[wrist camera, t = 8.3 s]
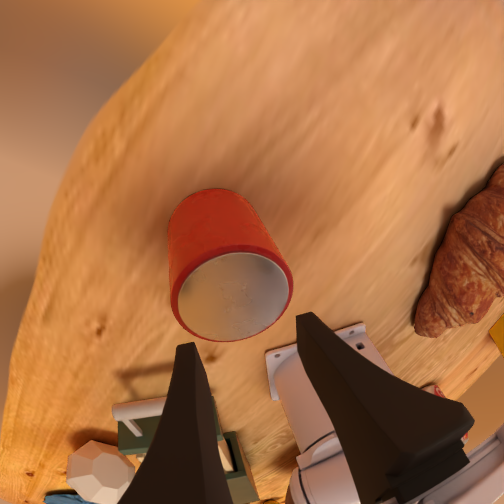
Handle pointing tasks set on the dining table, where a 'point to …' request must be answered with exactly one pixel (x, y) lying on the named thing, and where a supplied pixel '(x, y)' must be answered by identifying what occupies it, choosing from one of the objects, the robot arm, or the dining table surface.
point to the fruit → (271, 502)
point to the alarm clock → (498, 334)
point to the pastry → (467, 264)
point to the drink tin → (224, 268)
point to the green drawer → (145, 424)
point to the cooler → (240, 473)
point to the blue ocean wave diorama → (66, 499)
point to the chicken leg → (99, 472)
